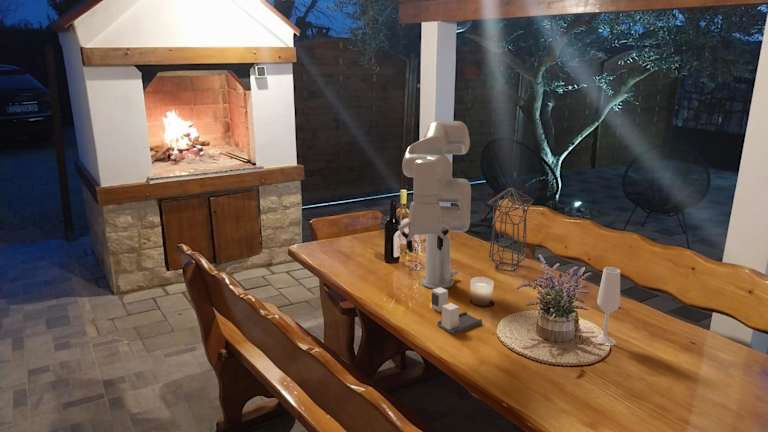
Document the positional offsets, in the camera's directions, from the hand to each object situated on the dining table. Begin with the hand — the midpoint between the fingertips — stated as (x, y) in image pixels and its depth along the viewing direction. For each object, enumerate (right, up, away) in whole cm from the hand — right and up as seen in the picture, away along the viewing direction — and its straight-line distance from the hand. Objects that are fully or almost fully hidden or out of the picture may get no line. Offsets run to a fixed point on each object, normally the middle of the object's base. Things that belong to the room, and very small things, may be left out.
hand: (424, 250), depth 186 cm
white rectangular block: (+7, -22, +22) cm, 32 cm away
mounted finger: (+9, -25, +7) cm, 28 cm away
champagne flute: (+57, -29, -2) cm, 64 cm away
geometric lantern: (+39, -11, +61) cm, 73 cm away
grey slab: (+12, -26, +9) cm, 30 cm away
